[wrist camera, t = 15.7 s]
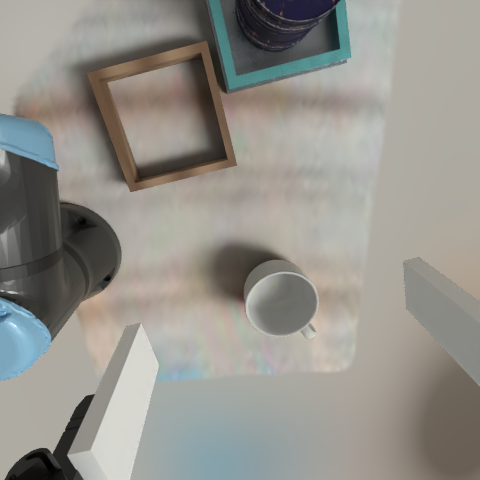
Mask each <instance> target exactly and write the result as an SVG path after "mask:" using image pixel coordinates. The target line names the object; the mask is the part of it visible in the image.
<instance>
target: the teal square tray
mask: <svg viewBox="0 0 480 480" xmlns="http://www.w3.org/2000/svg"><path fill="white" fill-rule="evenodd" d="M206 5H207V9H208V13H209V18H210V22H211V26H212V30H213V35H214V39H215V43H216V48H217V52H218V56H219V60H220V65H221V69H222V73H223V78H224V82H225V86H226V90H227V94H229V93H233V92H237V91H241V90H245V89H248V88H252V87H256V86H260V85H264V84H268V83H271V82H275V81H279V80H283V79H287V78H291V77H294V76H298V75H302V74H306V73H310V72H314V71H317V70H321V69H325V68H329V67H333V66H337V65H340V64H344V63H347V60H346V59H349V58H351V51H350V41H349V31H348V21H347V12H346V2H345V0H341V1H340V2H339V3H338V4H337V5H336V6H335V7H334V9H333V10H332V11H331V12H330V13H329V14H328V15H327V16H326V17H325V18H324V19H323V20H322V21H321V22H320V23H319V24H318V25H317V26H315V27H314V28H312V30H311V31H310V32H309V34H308V35H307V36H306V37H304V38H303V39H302V40H301V41H300V42H298V43H297V44H296V45H294V46H293V47H291V48H289V49H287V50H285V51H281V52H274V53H273V52H266V51H262V50H260V49H258V48H256V47H255V46H253V45H252V44H251V43H250V42H249V41H248V40H247V39H246V38H245V36H244V35H243V33H242V32H241V30H240V27H239V25H238V22H237V17H236V8H235V7H236V5H235V0H206Z"/></svg>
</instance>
